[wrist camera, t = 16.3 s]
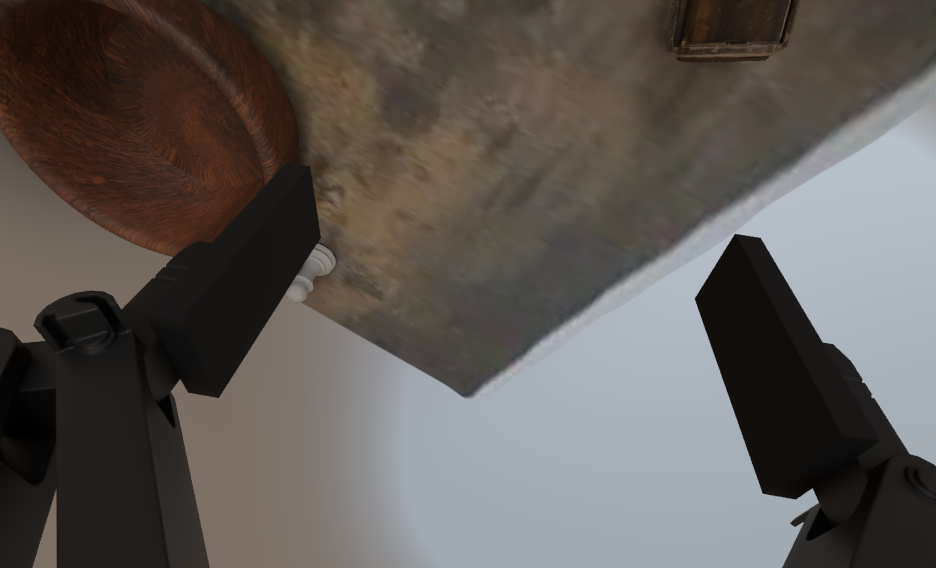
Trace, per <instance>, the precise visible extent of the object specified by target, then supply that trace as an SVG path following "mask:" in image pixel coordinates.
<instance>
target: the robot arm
mask: <svg viewBox="0 0 936 568" xmlns="http://www.w3.org/2000/svg"><path fill="white" fill-rule="evenodd" d="M320 238H321V235H320V229H319V222H318V215H317V209H316V202H315V196H314V189H313V182H312V176H311V169H310V166H304V165H298V164H291V163H285V164H284V165H283V167H282V168H281V169H280V170H279V171H278V172H277V173H276V174H275V175H274V176H273V177H272V178H271V179H270V180H269V182H268V183H267V184H266V185H265V186H264V187H263V188H262V189H261V190H260V191H259V192H258V193H257V194H256V196H255V197H254V198H253V199H252V200H251V201H250V202H249V203H248V204H247V205H246V206H245V207H244V208H243V210H242V211H241V212H240V213H239V214H238V215H237V216H236V217H235V218H234V219H233V220H232V221H231V222H230V224H229V225H228V226H227V227H226V228H225V229H224V230H223V231H222V232H221V233H220V234H219V235H218V236H217V237H216V239H215V240H214V241H213V242H212V243H210V242H203V241H197V242H195V243H194V244H192V245H190V246H188V247H186V248H185V249H183V250H181V251H179V252H178V253H177V254H176V255H175V256H174V257H173V258H172V259H171V260H170V261H169V262H168V263H167V264H166V265H167V266H166V267H164V268H162V269H161V270H160V271H159V272H158V273H157V275H156V277H155V278H153V279H151V280H150V281H149V282H148V283H147V284H146V285H145V286H144V288H142V289H141V290H140V292H138V294H137V295H136V296H135V297H134V298H133V299H132V300H131V301H130V302H129V303H128V304H127V305H126V306H125V307H124V308H123V309H122V310H121V309H120V307H119V306H118V304H117V302H116V301H115V299H114V297H113V296H112V295H109V294H107V293H105V292H102V291H86V292H78V293H74V294H71V295H68V296H65V297H63V298H60V299H58V300H56V301H55V302H53V303H51V304H50V305H48V306H46V308H44V309H43V310H42V311H41V312H40V314H39V315H37V317H36V320H35V323H34V325H33V326H34V327H35V328H36V329H37V331H38V332H39V333H40V334H41V335H42V337H43V338H44V339H45V340H46V341H41V342H30V343H22V342H21V341H20V340H19V339H18V338H17V336H16V335H15V334H14V333H13V332H12V331H11V330H7V329H4V328H0V568H32V566H33V563H34V560H35V557H36V554H37V550H38V547H39V544H40V540H41V537H42V534H43V530H44V527H45V524H46V521H47V517H48V514H49V511H50V507H51V504H52V501H53V497H54V494H55V491H56V489H57V568H210V567H209V562H208V558H207V553H206V548H205V543H204V538H203V533H202V528H201V524H200V519H199V514H198V509H197V504H196V500H195V494H194V490H193V485H192V480H191V475H190V470H189V465H188V461H187V456H186V451H185V446H184V442H183V436H182V432H181V427H180V422H179V417H178V413H177V408H176V403H175V399H174V397H173V395H172V393H171V390H172V389H173V388H174V386H175V385H176V384H177V382H178V381H179V380H180V379H181V381H182V382H183V384H184V386H185V388H186V389H187V391H188V393H194V394H199V395H205V396H210V397H216V398H219V396H220V395H221V394H222V392H223V390H224V389H225V387H226V386H227V384H228V383H229V381H230V379H231V378H232V376H233V374H234V373H235V372H236V370H237V368H238V367H239V365H240V364H241V362H242V361H243V359H244V357H245V356H246V354H247V353H248V351H249V350H250V348H251V346H252V345H253V343H254V342H255V340H256V339H257V337H258V336H259V334H260V332H261V331H262V329H263V328H264V326H265V324H266V323H267V321H268V320H269V318H270V317H271V315H272V313H273V312H274V310H275V309H276V307H277V306H278V304H279V303H280V301H281V299H282V298H283V296H284V295H285V293H286V292H287V290H288V288H289V287H290V285H291V284H292V282H293V281H294V279H295V277H296V276H297V274H298V273H299V271H300V270H301V268H302V266H303V265H304V263H305V262H306V260H307V259H308V257H309V255H310V254H311V252H312V251H313V249H314V248H315V246H316V245H317V243H318V241H319V240H320ZM695 301H696V304H697V307H698V310H699V312H700V315H701V318H702V321H703V324H704V326H705V330H706V332H707V335H708V338H709V341H710V344H711V347H712V350H713V352H714V355H715V358H716V361H717V364H718V367H719V369H720V373H721V375H722V378H723V381H724V384H725V387H726V390H727V392H728V395H729V398H730V401H731V404H732V407H733V410H734V412H735V415H736V418H737V421H738V424H739V427H740V430H741V432H742V435H743V438H744V441H745V444H746V447H747V450H748V452H749V455H750V458H751V461H752V464H753V467H754V470H755V473H756V475H757V478H758V481H759V484H760V487H761V490H762V493H763V494H768V495H773V496H779V497H785V498H790V499H797V498H799V497H800V496H802V495H803V494H805V493H806V492H807V491H809V490H810V489H812V488H813V490H814V492H815V495H816V496H817V499H818V501H819V503H818V504H817V505H815V506H813V507H812V508H810V509H809V510H807V511H806V512H804V513H802V514H801V515H799V516H798V517H796V518H795V519H794V520H793V521H792V522H791V524H792V525H793V526H794V527H795V526H797V525H799V524H801V523H802V522H804V524H803V526H802V528H801V530H800V532H799V534H798V536H797V538H796V540H795V542H794V544H793V547H792V549H791V551H790V553H789V555H788V557H787V559H786V561H785V563H784V565H783V567H782V568H936V466H935V465H934V464H932V463H930V462H928V461H926V460H924V459H922V458H920V457H918V456H914V455H911V454H909V453H908V451H907V449H906V448H905V446H904V445H903V443H902V441H901V440H900V438H899V437H898V435H897V434H896V432H895V430H894V429H893V427H892V426H891V424H890V422H889V421H888V419H887V418H886V416H885V414H884V413H883V411H882V410H881V408H880V406H879V405H878V403H877V402H876V400H875V399H874V398H872V397H871V395H872V394H871V392H870V391H869V389H868V388H867V386H866V384H865V383H862V378H861V376H860V375H859V373H858V372H857V370H856V368H855V367H854V365H853V364H852V362H851V361H850V360H849V359H848V358H847V357H846V356H845V355H844V354H843V353H842V352H841V351H840V350H838V349H837V348H836V347H835V346H834V345H833V344H828V343H823V342H822V341H821V339H820V338H819V336H818V334H817V332H816V331H815V329H814V327H813V326H812V324H811V322H810V320H809V319H808V317H807V315H806V314H805V312H804V310H803V309H802V307H801V305H800V304H799V302H798V300H797V299H796V297H795V295H794V294H793V292H792V290H791V289H790V287H789V285H788V283H787V282H786V280H785V278H784V277H783V275H782V273H781V272H780V270H779V268H778V267H777V265H776V263H775V262H774V260H773V258H772V256H771V255H770V253H769V251H768V250H767V248H766V246H765V245H764V243H763V241H762V240H761V238H758V237H751V236H745V235H739V234H735V235H734V236H733V238H732V240H731V241H730V243H729V244H728V246H727V248H726V249H725V251H724V252H723V254H722V256H721V257H720V259H719V261H718V262H717V264H716V265H715V267H714V269H713V270H712V272H711V273H710V275H709V277H708V278H707V280H706V281H705V283H704V285H703V286H702V288H701V290H700V291H699V293H698V294H697V296H696V298H695Z"/></svg>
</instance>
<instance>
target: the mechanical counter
mask: <svg viewBox="0 0 936 568" xmlns="http://www.w3.org/2000/svg"><path fill="white" fill-rule="evenodd" d="M800 2H801V0H686V5H685V10H684V16H683V22H682V28H681V34H680V40H679V44H678V46H674V42H675V36H676V30H677V24H678V19H679V12H680V4H681V0H673V3H672V10H671V17H670V23H669V30H668V37H667V51H668V52H669V53H670V54H671V55H676V56H677V57H678V58H677V60H678V61H682V62H711V61H714V62H717V61H719V62H727V61H728V62H735V61H761V60H766V59H767V58H768V57H769V56H771V55H772V54H773V53H776V52H780V51H781V50H783V49H784V48H786V47H787V44H788V42H789V40H790V37H791V35H792V31H793V27H794V23H795V19H796V16H797V12H798V8H799V5H800ZM778 41H780V42H779V44H778Z"/></svg>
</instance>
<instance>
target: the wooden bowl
mask: <svg viewBox="0 0 936 568" xmlns="http://www.w3.org/2000/svg"><path fill="white" fill-rule="evenodd" d="M0 130H1V131H2V133H3V134H4V136H5V137H6V139H7V140H8V141H9V143H10V144H11V146H12V147H13V148H14V150H15V151H16V152H17V153H18V155H19V156H20V157H21V158H22V159H23V161H24V162H25V163H26V164H27V165H28V166H29V168H30V169H31V170H32V171H33V172H34V173H35V174H36V175H37V176H38V177H39V178H40V179H41V180H42V181H43V182H44V183H45V184H46V185H47V186H48V187H49V188H50V189H51V190H53V191H54V192H55V193H56V194H57V195H58V196H59V197H61V198H62V199H63V200H64V201H66V202H67V203H68V204H69V205H70V206H72V207H73V208H74V209H76V210H77V211H78V212H80V213H81V214H83V215H84V216H85V217H87V218H88V219H90V220H91V221H93V222H95V223H96V224H98V225H99V226H101V227H103V228H104V229H106V230H108V231H109V232H111V233H113V234H115V235H117V236H119V237H121V238H123V239H125V240H127V241H129V242H131V243H134V244H136V245H138V246H141V247H143V248H146V249H148V250H151V251H154V252H158V253H160V254H164V255H168V256H172V257H174V256H175V255H176V254H177V253H178V252H179V251H181V250H183V249H185V248H186V247H188V246H190V245H192V244H194V243H195V242H197V241H203V242H210V243H212V242H213V241H214V240H215V239H216V237H217V236H218V235H219V234H220V233H221V232H222V231H223V230H224V229H225V228H226V227H227V226H228V225H229V224H230V222H231V221H232V220H233V219H234V218H235V217H236V216H237V215H238V214H239V213H240V212H241V211H242V210H243V208H244V207H245V206H246V205H247V204H248V203H249V202H250V201H251V200H252V199H253V198H254V197H255V196H256V194H257V193H258V192H259V191H260V190H261V189H262V188H263V187H264V186H265V185H266V184H267V183H268V182H269V180H270V179H271V178H272V177H273V176H274V175H275V174H276V173H277V172H278V171H279V170H280V169H281V168H282V167H283V165H284V164H285V163H291V164H298V160H299V139H298V131H297V124H296V120H295V116H294V112H293V109H292V106H291V103H290V101H289V98H288V96H287V94H286V91H285V89H284V87H283V85H282V83H281V81H280V79H279V78H278V76H277V74H276V73H275V71H274V69H273V68H272V67H271V65H270V64H269V62H268V61H267V59H266V58H265V57H264V56H263V54H262V53H261V52H260V51H259V49H258V48H257V47H256V46H255V45H254V44H253V43H252V42H251V41H250V40H249V39H248V38H247V37H246V36H245V35H244V34H243V33H242V32H241V31H240V30H239V29H238V28H237V27H236V26H235V25H233V24H232V23H231V22H230V21H228V20H227V19H226V18H225V17H223V16H222V15H221V14H219V13H218V12H216V11H215V10H213V9H212V8H210V7H209V6H207V5H205V4H204V3H202V2H200V1H199V0H0Z"/></svg>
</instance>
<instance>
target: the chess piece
mask: <svg viewBox="0 0 936 568" xmlns="http://www.w3.org/2000/svg"><path fill="white" fill-rule="evenodd" d="M335 265H336V260H335V257H334V255H333V253H332V252H331V251H330V250H329V249H328V248H327V247H325V246H323V245H321V244H317V245H316V246H315V248H314V249H313V251H312V252H311V254H310V255H309V257H308V259H307V260H306V262H305V263H304V265H303V266H302V270H301V272H300V273H299V274H298V275H297V276H296V277H295V279H294V281H293V282H292V284H291V285H290V287H289V288H288V290H287V292H286V297H287V298H288V299H289V300H290V301H292V302H294V303H300V302H302V301H304V300H305V299H306V298H307V296H308V293H309V292H311V291H312V290H313V284H312V282H313V280H314V278H315V277H316V276H324V275H327V274H329V273H330V272H331V270H332V269H334V267H335Z"/></svg>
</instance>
